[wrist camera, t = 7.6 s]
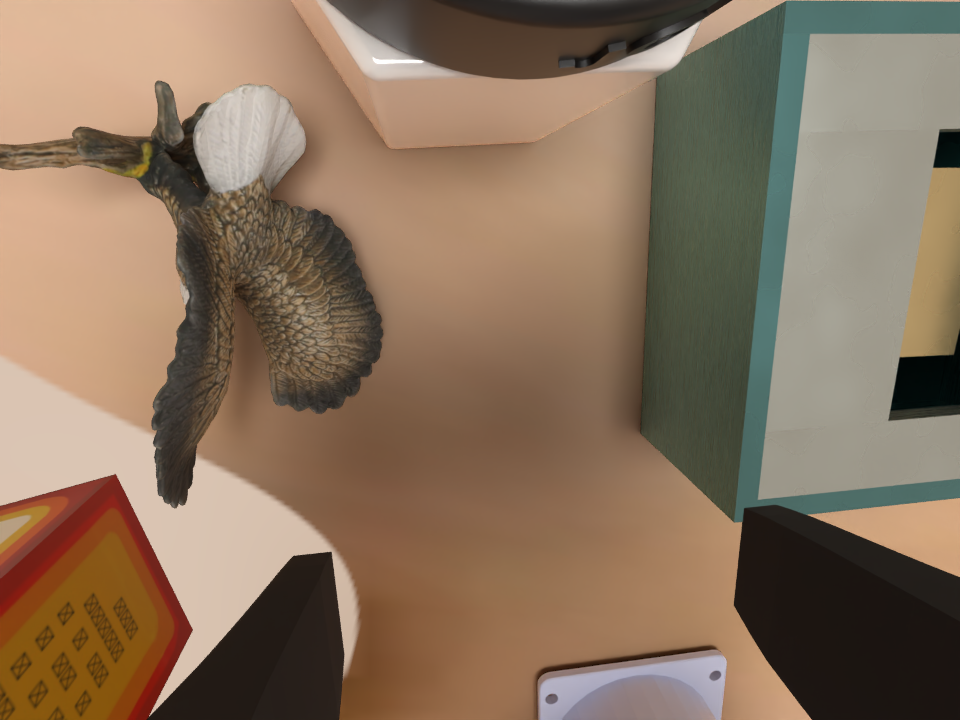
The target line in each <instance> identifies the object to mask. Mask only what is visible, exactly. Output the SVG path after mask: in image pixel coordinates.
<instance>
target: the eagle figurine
mask: <svg viewBox="0 0 960 720" xmlns="http://www.w3.org/2000/svg"><path fill="white" fill-rule="evenodd" d="M155 93H156V98H157V103H158V119H157V125H156V127H155V128H154V130H153V131H152V133H151V137H132V136H121V135H115V134H110V133H107V132H103V131H99V130H96V129H92V128H89V127H78V128H76V129H75V130H74V131H73V133H72V136H73V138H72V139H63V140H55V141H48V142H41V143H34V144H23V145H6V144H0V168H2V169H8V170H23V169H29V168H39V167H58V168H67V167H70V166H74V165H85V166H90V167H96V168H100V169H103V170H105V171H107V172H110V173H114V174H118V175H121V176H125V177H131V178H136V179H137V180H138V181H140V183H141V184H142V186H143V187H144V188H145V190H146V191H147V192H148V193H149V194H151V195H153V196H155V197H157V198H159V199H161V200H162V201H163V202H164V203H165V205H166V207H167V210H168V211H169V213H170V214H171V216H172V219H173V221H174V224H175V226H176V228H177V233H178V234H177V239H178V240H177V243H176V246H177V248H176V269H177V271H178V274H179V276H180V291H181V294H182V297H183V302H184V304H186V308H185V309H186V318H185V320H184V321H183V322H182V323H181V325H180V326H179V328H178V330H177V338H178V340H177V344H176V347H175V353H176V355H175V358H174V360H173V361H172V362H171V363H170V364H169V365H168V367H167V375H168V379H167V382H166V384H165V385H164V386H163V387H162V388H161V389H160V391H159V392H158V394H157V396H156V397H155V399H154V402H153V408H154V410H155V414H154V416H153V418H152V429H153V430H157V433H156V435H155V438H154V441H153V444H154V446H155V447H156V451H155V456H154V458H155V463H156V477H157V487H158V495H159V496H162V497H163V499H164V502H165V503H167V504H170V505H171V506H172V507H173V508H177V506H178V504H180V505H185V503H186V501H187V495H188V489H189V488H190V486H191V485H192V480H193V467H194V465H195V460H196V448H197V444H198V442H199V441H200V440H201V438H202V436H203V435H204V433H205V432H206V430H207V429H208V427H209V425H210V423H211V421H212V420H213V419H214V417H215V415H216V414H217V411H218V409H219V407H220V405H221V402H222V400H223V398H224V396H225V394H226V392H227V389H228V384H229V377H230V371H231V365H232V358H233V351H234V332H235V327H234V324H235V320H234V310H235V297H234V295H235V296H236V297H237V298H238V300H239V301H240V302H241V303H242V304H243V306H244V307H245V309H246V310H247V312H248V313H249V315H250V316H251V317H252V319H253V321H254V322H255V324H256V327H257V330H258V332H259V334H260V337H261V340H262V343H263V346H264V349H265V351H266V354H267V356H268V358H269V371H270V373H269V376H270V381H271V393H272V395H273V399H274V402H275V403H276V405H279V406H284V405H287V404H288V405H290V406H291V407H293V408H294V409H295V410H296V411H303V410H305V409H306V408H308V407H309V408H310V409H311V410H312V411H313V412H315V413H317V414H322V413H324V412H325V411H326V410H327V408H331V409H339V408H340V407H341V406H342V405H343V403H344V400H345V398H346V397H347V396H349V397H353V396H355V395H356V394H357V392H358V391H359V387H360V377H368V376H369V375H370V374H371V372H372V370H371V364H372V363H375V362H377V360H378V359H379V357H380V350H381V341H380V339H381V338H382V336H383V330H382V328H381V326H380V324H381V316H380V315H379V314H378V313H377V312H376V311H375V309H376V307H375V304H374V302H373V297H372V295H371V294H370V293H369V292H368V291H366V290H365V287H366V283H365V281H364V279H363V278H362V273H361V270H360V268H359V267H358V266H357V265H356V264H355V258H356V256H355V253H354V251H353V250H352V244H351V242H350V240H348V239H347V238H346V236H345V234H344V232H343V231H342V230H341V229H340V228H338V227H336V225H335V224H334V223H333V220H332V218H331V217H330V216H328V215H323V214H322V213H321V212H320V211H318V210H317V209H314V210H312V211H306V210H305V209H304V208H302V207H300V206H295V207H293V208H290V207H289V206H288V205H287V203H286V202H285V201H282V200H271V198H270V195H271V193H272V191H273V190H274V188H275V187H276V186H277V184H278V183H279V181H280V180H281V179H282V178H283V177H284V175H285V174H286V173H287V171H288V170H289V169H290V168H291V167H292V166H293V165H294V164H295V163H296V162H297V161H298V159H299V158H300V157H301V155H302V154H303V153H304V151H305V148H306V137H305V132H304V129H303V127H302V125H301V124H300V122H299V119H298V118H297V117H296V115H295V113H294V110H293V107H292V104H291V102H290V101H289V100H288V99H287V98H286V97H284V96H282V95H279V94H278V93H277V92H276V91H275V90H274V89H273V88H272V87H271V86H268V85H253V84H245V85H241V86H239V87H237V88H236V89H234V90H232V91H230V92H227V93H224V94H223V95H222V96H221V97H220V98H219V99H218V100H217V101H216V102H214V103H204V104H201V105H200V106H199V107H198V109H197V110H196V112H195V114H194V115H192V116H191V117H189V118H187V119H185V120H184V121H183V123H182V125H181V124H180V122H179V119H178V116H177V110H176V103H175V99H174V94H173V91H172V90H171V88H170V86H169V85H168V84H167V83H165V82H162V81H157V82H156V83H155ZM193 182H196V183H197V184H198V186H199V188H198V187H197V186H196V185H195V184H193Z"/></svg>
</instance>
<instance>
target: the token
mask: <svg viewBox="0 0 960 720" xmlns="http://www.w3.org/2000/svg"><path fill="white" fill-rule="evenodd" d="M959 329H960V168H933V170H932V176H931V181H930V187H929V193H928V198H927V204H926V210H925V215H924V221H923V227H922V232H921V238H920V244H919V249H918V255H917V261H916V266H915V272H914V278H913V283H912V289H911V295H910V300H909V306H908V312H907V317H906V323H905V329H904V334H903V340H902V346H901V351H900V357H913V356H934V355H954V351H955V347H956V342H957V338H958V334H959Z"/></svg>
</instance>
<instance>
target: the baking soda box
mask: <svg viewBox="0 0 960 720" xmlns="http://www.w3.org/2000/svg"><path fill="white" fill-rule="evenodd" d="M192 631H193V629H192V627H191V625H190V624H189V621H188V619H187V617H186V615H185V613H184V611H183V609H182V607H181V605H180V603H179V601H178V599H177V597H176V595H175V593H174V591H173V589H172V587H171V585H170V583H169V581H168V579H167V577H166V575H165V573H164V571H163V569H162V567H161V565H160V563H159V561H158V559H157V557H156V555H155V552H154V550H153V548H152V546H151V545H150V542H149V540H148V538H147V536H146V535H145V532H144V530H143V528H142V526H141V525H140V522H139V520H138V518H137V516H136V514H135V512H134V510H133V508H132V506H131V504H130V502H129V500H128V498H127V496H126V494H125V492H124V490H123V488H122V486H121V484H120V482H119V480H118V478H117V476H116V474H115V475H111V476H108V477H104V478H100V479H97V480H93V481H90V482H86V483H83V484H79V485H75V486H71V487H68V488H64V489H61V490H57V491H53V492H49V493H46V494H42V495H39V496H35V497H32V498H28V499H24V500H20V501H17V502H13V503H10V504H6V505H2V506H0V720H146V719H147V718H148V717H149V715H150V713H151V711H152V709H153V707H154V705H155V703H156V701H157V699H158V697H159V695H160V693H161V691H162V689H163V687H164V686H165V683H166V682H167V680H168V677H169V676H170V674H171V672H172V670H173V668H174V666H175V664H176V662H177V660H178V658H179V656H180V654H181V652H182V650H183V648H184V646H185V644H186V642H187V640H188V638H189V637H190V635H191V632H192Z"/></svg>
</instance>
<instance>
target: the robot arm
mask: <svg viewBox="0 0 960 720" xmlns="http://www.w3.org/2000/svg"><path fill="white" fill-rule="evenodd" d="M734 606H735V608H736V610H737V612H738V613H739V615H740V617H741V619H742V620H743V622H744V624H745V626H746V627H747V629H748V631H749V633H750V634H751V636H752V638H753V639H754V641H755V642H756V644H757V646H758V647H759V649H760V650H761V652H762V654H763V655H764V657H765V658H766V660H767V661H768V663H769V664H770V665H771V667H772V668H773V669H774V671H775V672H776V673H777V675H778V676H779V677H780V679H781V680H782V681H783V683H784V684H785V685H786V687H787V688H788V689H789V690H790V692H791V693H792V694H793V696H794V697H795V698H796V700H797V701H798V702H799V704H800V705H801V706H802V707H803V709H804V710H805V711H806V713H807V714H808V715H809V716H810V718H811V719H812V720H960V577H958V576H955V575H953V574H950V573H947V572H945V571H942V570H940V569H937V568H935V567H932V566H930V565H927V564H925V563H923V562H920V561H918V560H915V559H913V558H910V557H908V556H905V555H903V554H901V553H898V552H896V551H893V550H891V549H888V548H886V547H884V546H881V545H879V544H876V543H874V542H872V541H869V540H867V539H865V538H862V537H860V536H857V535H855V534H852V533H850V532H848V531H845V530H843V529H840V528H838V527H836V526H833V525H831V524H828V523H826V522H823V521H821V520H818V519H816V518H813V517H811V516H808V515H805V514H803V513H800V512H797V511H794V510H791V509H788V508H785V507H782V506H779V505H767V506H758V507H748V508H744V513H743V522H742V532H741V541H740V551H739V560H738V570H737V579H736V589H735V598H734ZM343 666H344V648H343V641H342V632H341V624H340V616H339V609H338V600H337V592H336V585H335V576H334V568H333V560H332V552H325V553H316V554H307V555H298V556H293V557H292V558H291V559H290V560H289V561H288V562H287V564H286V565H285V566H284V567H283V568H282V569H281V570H280V572H279V573H278V574H277V575H276V576H275V578H274V579H273V580H272V581H271V582H270V584H269V585H268V586H267V587H266V589H265V590H264V591H263V592H262V593H261V594H260V596H259V597H258V598H257V599H256V600H255V602H254V603H253V604H252V605H251V606H250V608H249V609H248V610H247V611H246V612H245V614H244V615H243V616H242V617H241V618H240V619H239V621H238V622H237V623H236V624H235V625H234V626H233V627H232V628H231V630H230V631H229V632H228V633H227V634H226V636H225V637H224V638H223V639H222V640H221V641H220V642H219V643H218V645H217V646H216V647H215V648H214V649H213V650H212V651H211V652H210V654H209V655H208V656H207V657H206V658H205V659H204V660H203V661H202V662H201V664H199V666H198V667H197V668H196V669H195V670H194V671H193V672H192V673H191V674H190V675H189V676H188V677H187V678H186V679H185V680H184V681H183V682H182V683H181V684H180V686H178V688H177V689H176V690H175V691H174V692H173V693H172V694H171V695H170V696H169V697H168V698H167V699H166V700H165V701H164V702H163V703H162V704H161V705H160V706H159V707H158V709H156V711H154V712H153V713H152V715H151V716H149V717H148V718H147V719H146V720H339V715H340V704H341V692H342V680H343ZM726 668H727V660H726V659H725V657H724V656H723V654H722V653H721V652H720V651H718V650H706V651H699V652H692V653H685V654H677V655H670V656H663V657H655V658H648V659H641V660H633V661H626V662H619V663H612V664H604V665H597V666H590V667H582V668H575V669H568V670H560V671H553V672H548V673H545V674H543V675H542V676H541V677H540V678H539V680H538V720H721V715H722V706H723V696H724V687H725V677H726ZM550 694H553V695H551V696H548V695H550Z"/></svg>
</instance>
